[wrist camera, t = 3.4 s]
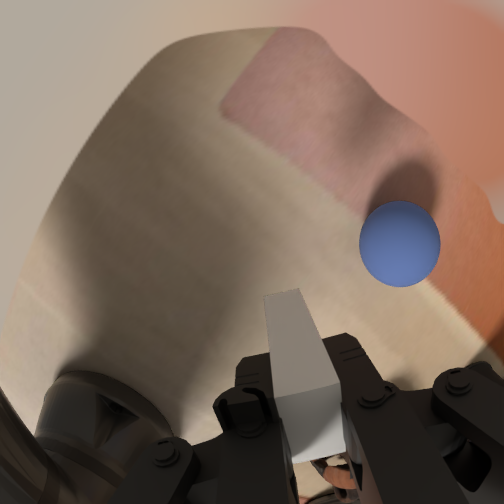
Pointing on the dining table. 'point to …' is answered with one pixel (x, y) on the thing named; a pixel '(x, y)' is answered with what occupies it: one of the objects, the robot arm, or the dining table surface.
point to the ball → (399, 243)
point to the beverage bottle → (331, 500)
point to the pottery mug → (338, 478)
